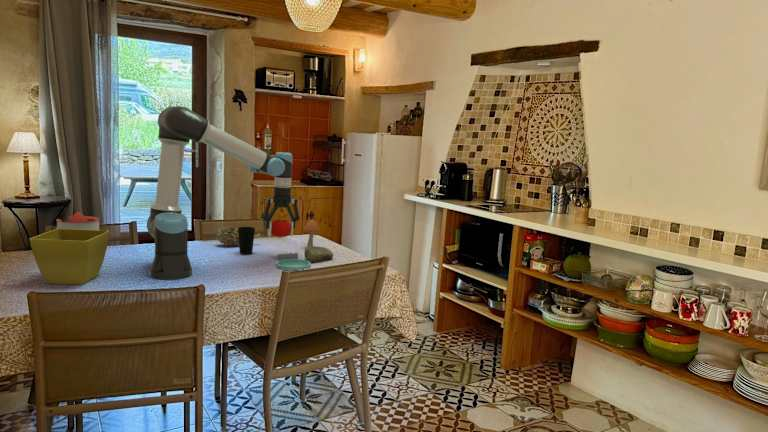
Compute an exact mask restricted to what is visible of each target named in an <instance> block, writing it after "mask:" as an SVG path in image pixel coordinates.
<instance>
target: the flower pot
mask: <svg viewBox="0 0 768 432" xmlns="http://www.w3.org/2000/svg"><path fill="white" fill-rule="evenodd" d="M109 237H110V231H109V230H100V229H99V230H82V229H56V228H55V229H52V230H50V231H47V232H44V233H41V234H39V235H36V236H33V237H30V238H29V243H30V248H31V251H32V253H33V257H34V260H35V262H36V265H37V268H38V270H39V272H40V274H41V276H42V279H43V280H44V282H45V283H46V284H54V285H64V284H65V285H84V284H86V283H88V282H89V281H91V280H93V279H94V278H96V277H98V276H99V274H100V271H101V269H102V266H103V263H104V259H105V257H106V252H107V249H108V244H109Z"/></svg>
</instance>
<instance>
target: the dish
mask: <svg viewBox="0 0 768 432" xmlns="http://www.w3.org/2000/svg"><path fill="white" fill-rule="evenodd" d="M275 267H276V268H277V269H279V270H283V271H290V270H298V271H301V270H300V269H306V270H308V268H309V269H310V268H311V267H312V262H309V261H307V260H306V259H299V258H298V259H284V260H280V261H278V260H276V263H275Z"/></svg>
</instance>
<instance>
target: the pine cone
mask: <svg viewBox="0 0 768 432" xmlns="http://www.w3.org/2000/svg"><path fill="white" fill-rule="evenodd" d="M238 228H239V227H236V228H235V227H233V226H231V225H230V226H229V225H228V226H222V227H219V228H218V230H216V237H215V239H216V240H217V241H218V242H219V243H221V244H223V245H224V246H230V247H231V246H233V247H234V246H237V247H239V236H238ZM256 238H261V233H260V232H259V233H257V234H254V239H256Z"/></svg>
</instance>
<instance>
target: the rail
mask: <svg viewBox="0 0 768 432" xmlns="http://www.w3.org/2000/svg"><path fill="white" fill-rule="evenodd" d="M284 259H299V253H298V252H292V253H291V252H290V253H289V252H287V253H277V261H280V260H284Z"/></svg>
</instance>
